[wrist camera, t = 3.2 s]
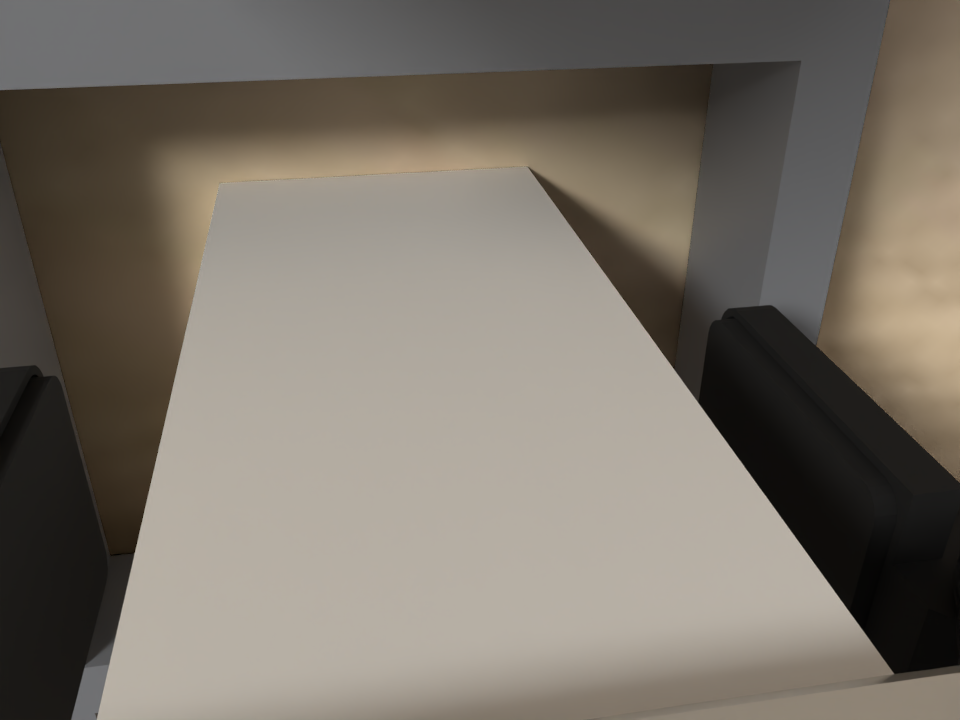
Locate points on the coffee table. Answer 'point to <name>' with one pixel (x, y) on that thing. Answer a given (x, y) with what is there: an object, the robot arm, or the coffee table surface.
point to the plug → (446, 482)
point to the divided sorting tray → (500, 48)
